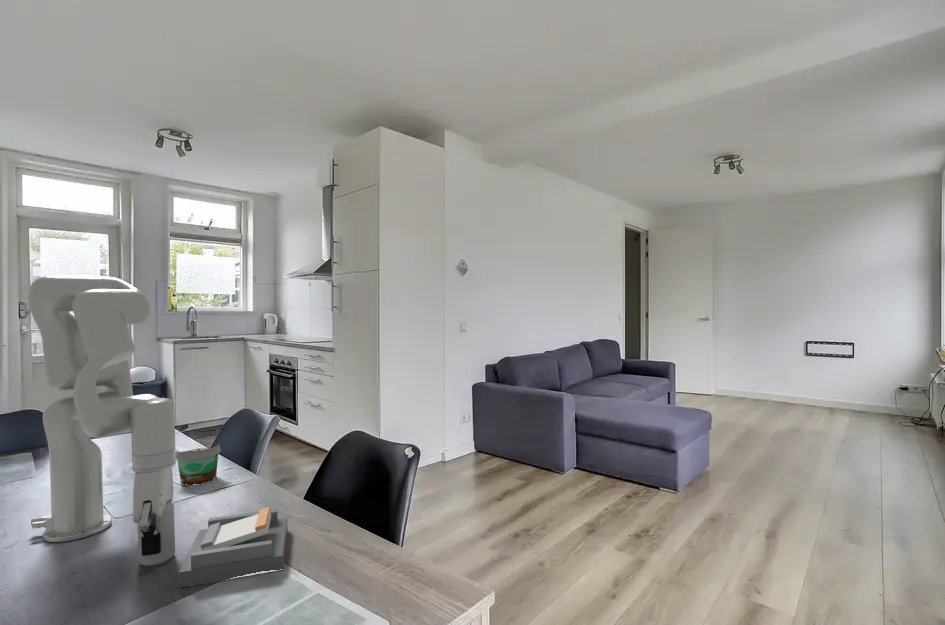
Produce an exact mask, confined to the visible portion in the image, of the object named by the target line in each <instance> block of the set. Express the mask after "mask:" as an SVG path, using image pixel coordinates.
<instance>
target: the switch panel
mask: <svg viewBox="0 0 945 625" xmlns="http://www.w3.org/2000/svg"><path fill="white" fill-rule="evenodd" d="M270 512H271V519H270V524H269V529H268V534H265V535H262V536H259V537H256V538H252V539H249V540H246V541H243V542H240V543H237V544H234V545H231V546H228V547H223V548H217V549H210V550H204V551H202V549H201V543H202V541H203V539H204V537H205V535H206V533H207V531H208V529H209V526H210V525H213V524H216V523H219V522H220V523H221V526H222V525H225V524H228V523H231V522H234V521H238V520H241V519H244V518H247V517H250V516H254V515H257V514H259V511H253V512H247V513H240V514H232V515H224V516H223V515H222V516H218V517H209V519H208V520H207V528H205V529H200V530H199V531H198V533H197V536H196V537H195V539H194V540H193V541H194V542H193V543H192V545H191V547H190V549H189V551H188V553H187V555H185V556H186V557H185V558H184V560H183V563H182V564H181V566H180V569H179V571H178V572H177V574H178V575H177V576H178V577H177V579H178V589H183V588H182V587H185V588H188V587H187V586H191V585H196V586H200V585H199V584H202V585H205V584H204V583H208V584H212V583H211V582H214V583H219V582H218V581H220V582H223V581H222V580H226V579H230V578H233V577H237V576H243V575H246V574H251V573H256V572H261V571H270V570H280V569H283V570H284V562H285V553H286V544H287V539H288V538H287V536H288V517H283V518H278V517H279V514H278V513H279V511H278V509H270ZM226 581H227V580H226ZM191 587H192V586H191Z"/></svg>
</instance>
